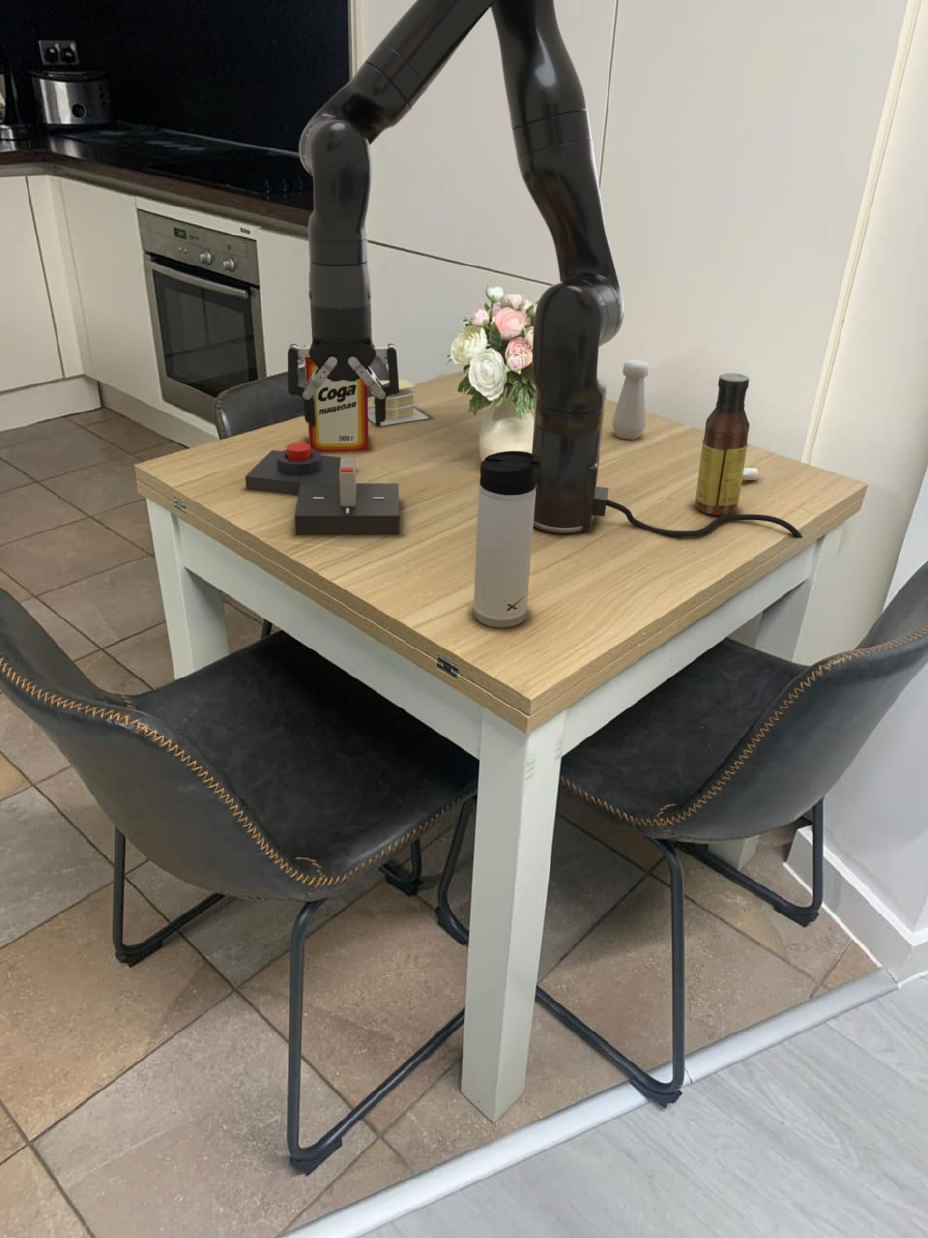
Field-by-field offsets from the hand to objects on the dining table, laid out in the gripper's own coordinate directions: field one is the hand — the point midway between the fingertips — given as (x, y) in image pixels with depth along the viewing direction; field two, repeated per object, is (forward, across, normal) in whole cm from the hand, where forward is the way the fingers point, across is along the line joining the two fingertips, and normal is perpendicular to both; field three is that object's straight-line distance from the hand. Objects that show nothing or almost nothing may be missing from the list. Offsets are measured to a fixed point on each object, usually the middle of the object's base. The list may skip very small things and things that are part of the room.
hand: (345, 424), depth 126 cm
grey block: (+11, 0, -1) cm, 11 cm away
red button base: (+14, +8, -14) cm, 21 cm away
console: (+14, 0, -1) cm, 14 cm away
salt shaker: (+14, -48, -34) cm, 60 cm away
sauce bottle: (+15, -54, -3) cm, 56 cm away
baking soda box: (+14, +2, -29) cm, 32 cm away
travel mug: (+14, -18, +26) cm, 35 cm away
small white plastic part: (+14, -62, -13) cm, 65 cm away
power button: (+10, +8, -14) cm, 19 cm away
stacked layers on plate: (+14, -7, -44) cm, 47 cm away
